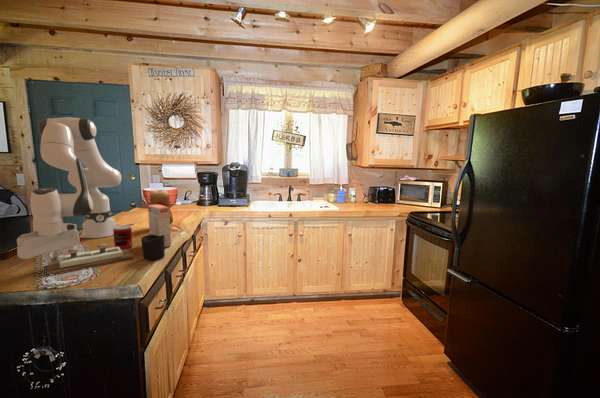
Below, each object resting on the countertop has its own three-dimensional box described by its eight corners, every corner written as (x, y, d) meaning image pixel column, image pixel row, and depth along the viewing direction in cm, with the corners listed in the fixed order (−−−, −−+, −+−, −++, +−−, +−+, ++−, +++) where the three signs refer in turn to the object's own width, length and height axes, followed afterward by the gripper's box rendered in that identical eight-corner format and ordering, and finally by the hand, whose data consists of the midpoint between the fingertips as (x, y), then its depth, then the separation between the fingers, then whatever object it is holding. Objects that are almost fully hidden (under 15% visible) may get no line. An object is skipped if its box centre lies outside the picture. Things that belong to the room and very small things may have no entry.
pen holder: (161, 252, 134) (160, 233, 132) (168, 258, 127) (167, 237, 126) (140, 257, 128) (138, 236, 126) (145, 263, 121) (144, 241, 119)
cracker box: (171, 246, 144) (169, 207, 141) (159, 249, 139) (157, 208, 136) (161, 240, 153) (159, 203, 150) (149, 242, 149) (147, 204, 146)
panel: (59, 260, 117) (58, 251, 117) (119, 250, 131) (118, 242, 131) (60, 268, 110) (59, 258, 109) (123, 256, 124) (122, 247, 123)
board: (47, 264, 116) (46, 249, 115) (127, 250, 136) (126, 237, 135) (47, 275, 106) (45, 258, 105) (133, 258, 125) (132, 244, 124)
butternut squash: (149, 231, 170) (147, 191, 166) (149, 227, 181) (147, 189, 178) (174, 229, 177) (172, 190, 173) (172, 224, 188) (170, 188, 184)
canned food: (129, 244, 145) (127, 224, 143) (135, 247, 140) (133, 226, 138) (112, 248, 139) (110, 226, 138) (118, 251, 134) (116, 229, 133)
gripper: (22, 236, 99) (27, 272, 101) (80, 223, 119) (83, 254, 121) (10, 234, 101) (15, 270, 103) (69, 222, 120) (73, 253, 122)
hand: (52, 261), depth 112 cm, fingers closed
